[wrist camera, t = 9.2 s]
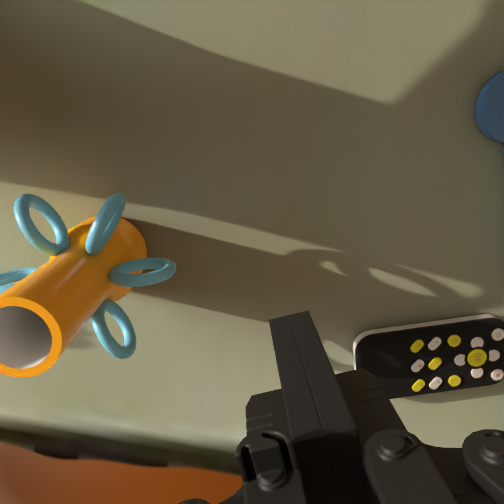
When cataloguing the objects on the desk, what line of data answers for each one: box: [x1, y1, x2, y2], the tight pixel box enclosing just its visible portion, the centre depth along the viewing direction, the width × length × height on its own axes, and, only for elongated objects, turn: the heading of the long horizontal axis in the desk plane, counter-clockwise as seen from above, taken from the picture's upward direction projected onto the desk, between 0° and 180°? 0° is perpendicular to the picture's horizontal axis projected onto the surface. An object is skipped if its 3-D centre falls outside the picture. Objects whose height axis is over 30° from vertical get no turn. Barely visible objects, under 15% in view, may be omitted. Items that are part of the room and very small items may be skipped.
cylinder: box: [0, 192, 177, 377], centre depth 27 cm, size 12×10×15 cm
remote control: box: [353, 314, 504, 399], centre depth 36 cm, size 6×13×2 cm, turn 98°
